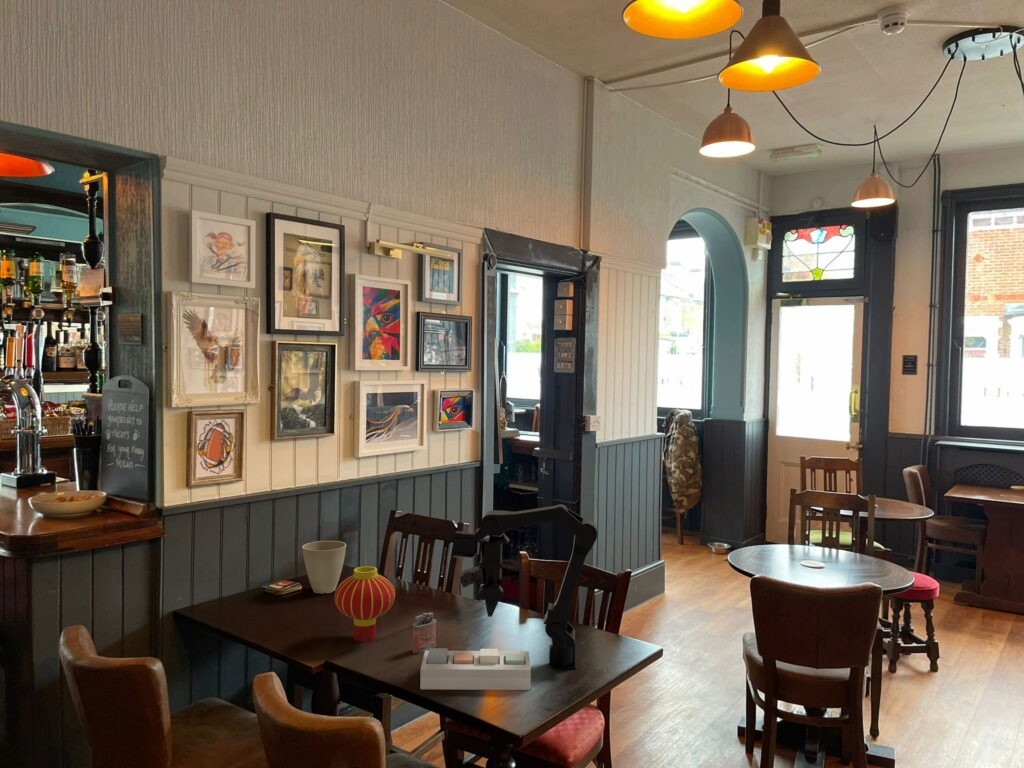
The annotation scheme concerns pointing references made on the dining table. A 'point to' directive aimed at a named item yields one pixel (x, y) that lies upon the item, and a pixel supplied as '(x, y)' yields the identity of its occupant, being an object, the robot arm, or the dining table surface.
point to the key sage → (514, 658)
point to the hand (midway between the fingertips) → (489, 616)
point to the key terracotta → (463, 658)
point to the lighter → (424, 633)
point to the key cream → (488, 656)
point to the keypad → (476, 673)
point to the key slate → (437, 656)
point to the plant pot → (324, 564)
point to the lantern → (364, 599)
